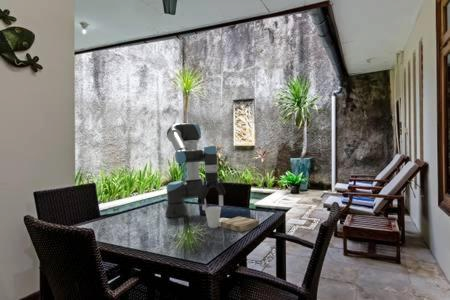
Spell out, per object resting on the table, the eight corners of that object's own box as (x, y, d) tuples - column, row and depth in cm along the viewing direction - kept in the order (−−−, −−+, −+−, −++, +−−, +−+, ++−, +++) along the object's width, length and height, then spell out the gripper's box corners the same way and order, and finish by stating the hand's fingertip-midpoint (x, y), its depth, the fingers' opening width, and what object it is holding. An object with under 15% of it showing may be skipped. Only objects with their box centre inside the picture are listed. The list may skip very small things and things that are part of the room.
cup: (219, 229, 171) (219, 210, 171) (203, 229, 173) (202, 210, 173) (223, 224, 181) (222, 206, 181) (207, 224, 183) (206, 206, 183)
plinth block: (220, 227, 176) (220, 221, 176) (239, 221, 187) (238, 216, 187) (241, 232, 164) (241, 226, 164) (259, 225, 176) (259, 220, 176)
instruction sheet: (214, 221, 189) (214, 220, 189) (222, 218, 196) (222, 217, 196) (230, 223, 182) (230, 223, 182) (238, 220, 189) (238, 219, 189)
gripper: (199, 174, 165) (201, 212, 165) (230, 170, 182) (232, 205, 183) (190, 173, 170) (192, 211, 170) (221, 170, 188) (223, 203, 188)
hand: (213, 208), depth 176 cm, fingers open, 13 cm apart
